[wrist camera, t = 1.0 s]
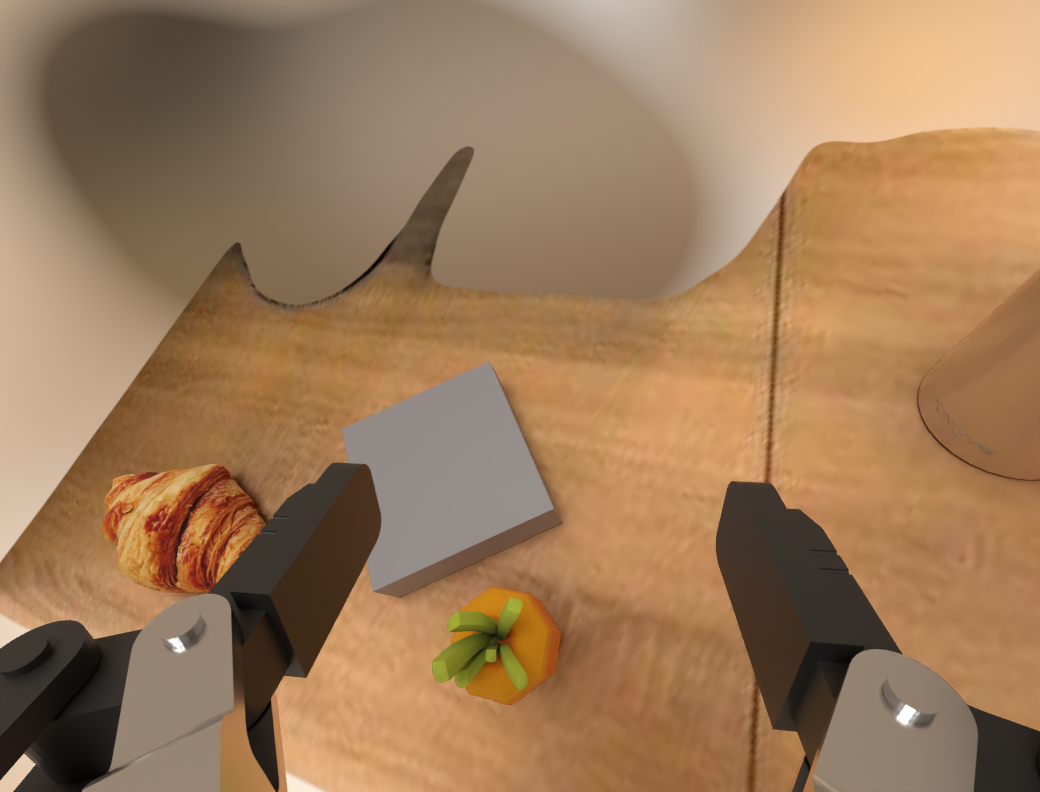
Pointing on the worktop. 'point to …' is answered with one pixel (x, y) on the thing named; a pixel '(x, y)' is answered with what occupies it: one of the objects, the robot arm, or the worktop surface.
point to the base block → (448, 481)
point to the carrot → (500, 646)
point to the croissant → (179, 527)
